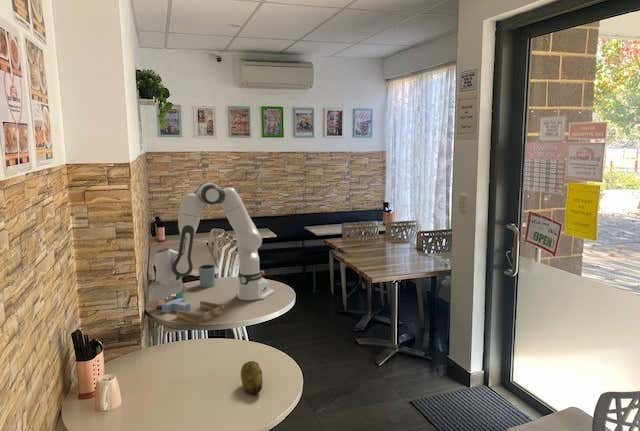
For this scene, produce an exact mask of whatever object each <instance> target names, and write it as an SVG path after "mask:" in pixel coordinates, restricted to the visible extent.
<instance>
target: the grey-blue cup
mask: <svg viewBox="0 0 640 431" xmlns="http://www.w3.org/2000/svg"><path fill="white" fill-rule="evenodd" d="M197 270H198V275H199V284H200V285H199V286H200V287H201V288H212V287H214V286H216V285H215V283H216V280H215V279H216V276H215V275H216V265H214V264H201V265H199V266H198V268H197Z"/></svg>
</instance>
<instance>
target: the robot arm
mask: <svg viewBox="0 0 640 431" xmlns="http://www.w3.org/2000/svg"><path fill="white" fill-rule="evenodd" d="M205 205H211V206H212V205H213V206H214V205H220V206H221V208H222V210H223V212H224V214H225V216H226V219H227V220H228V222H229V224H230V226H231V227H232V229H233V231H234V233H235V241H236V248H237V254H238V263H239V264H238V265H239V267H238V268H239V272H238V279H239V281H238V286H237V292H236V296H237V299H239V300H241V301H255V300H256V301H257V300H265V299H266V298H267V297H269V296H271V294H273V293H275V289H273V288H271V287H270V286H271V285H270V282H269V280H267V279H265V278H264V277H263V276H262V275H265V270H260V257H259V253H258V249H260V247H261V246H262V243H263V238H262V237H261V234H260V232H259V231H258V229H257V227H256V225H255V223H254V222H253V220H252V218H251V217H250V215H249V213H248V210H247V208H246V207H245V205H244V202H243V200H242V199H241V197H240V195H239V194H238V192H237V191H236V189H235V188H233V187H225V188H221V187H219V185H216V184H215V183H213V182H203V183H202V184H201V185H199V186H198V188H197V189H196V190H195V191H194V192H192V193H191V192H189V193H186V194H184V195H183V198H182V199H181V203H180V205H179V210H178V218H177V219H178V220H177V223H178V224H177V225H178V231H179V245H178V246H179V247H178V250H177V251H176V250H174V249H171V248H170V247H163V248H161V249H158V250H157V251H156V252H155V254H154V255H155V256H154V263H155V264H154V266H155V281H154V282H151V283H150V285H149V286H148V295H147V296H148V300H149V301H150V302H156V301H159V300H161V301H162V304H163V303H167V302H169V301H171V299H172V296H173V295H174V294H176V293H179V292H181V291H182V289H183V287H182V285H183V281H182V280H180V279H181V278H184V277H187V276H189V275H190V274H191V273H192V271H193V268H194V267H193V262H192V258H191V257H192V250H193V249H192V248H193V242H194V238H195V236H196V232H197V230H198V227H199V224H200V221H201V214H202V210H203V207H204V206H205ZM167 297H168V299H167ZM166 300H167V301H166Z"/></svg>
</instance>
